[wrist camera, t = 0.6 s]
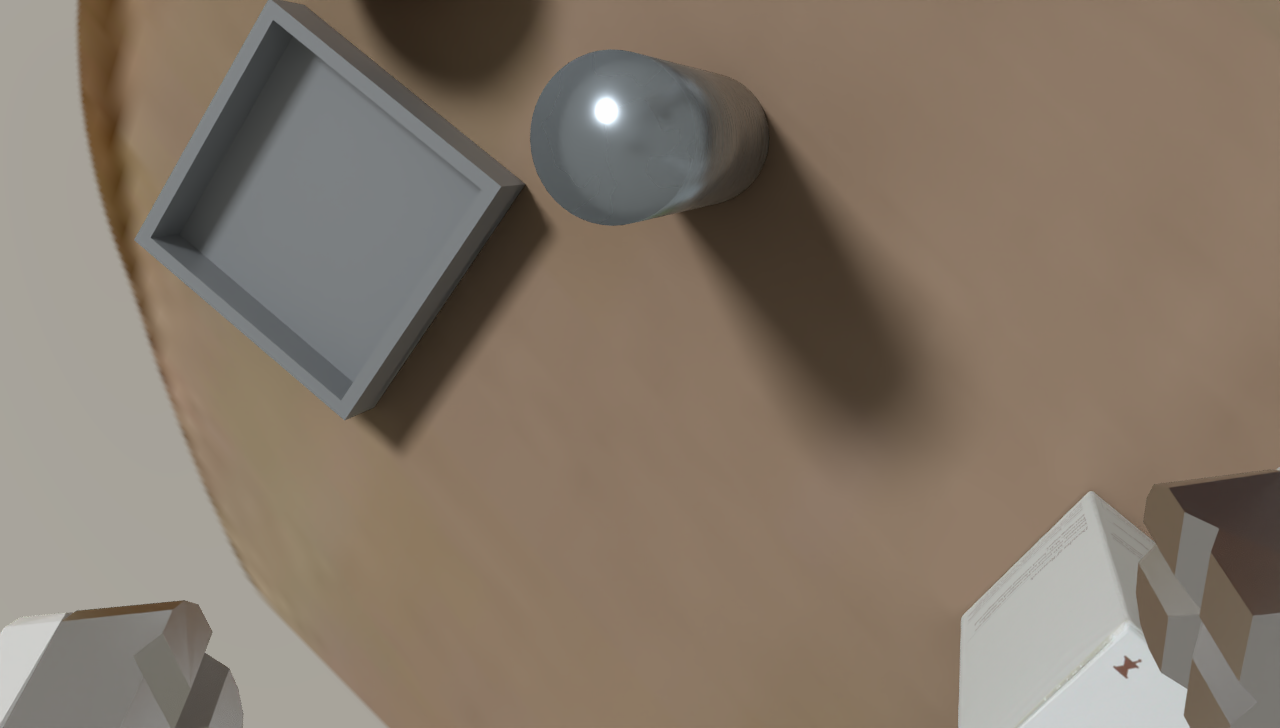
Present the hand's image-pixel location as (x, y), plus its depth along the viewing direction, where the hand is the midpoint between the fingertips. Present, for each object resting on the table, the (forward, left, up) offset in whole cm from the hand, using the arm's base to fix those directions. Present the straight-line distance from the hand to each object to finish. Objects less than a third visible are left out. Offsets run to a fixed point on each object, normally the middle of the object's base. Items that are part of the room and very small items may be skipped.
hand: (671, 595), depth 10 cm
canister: (+2, -9, -36) cm, 37 cm away
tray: (+14, -20, -36) cm, 43 cm away
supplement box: (+7, +14, -36) cm, 39 cm away
